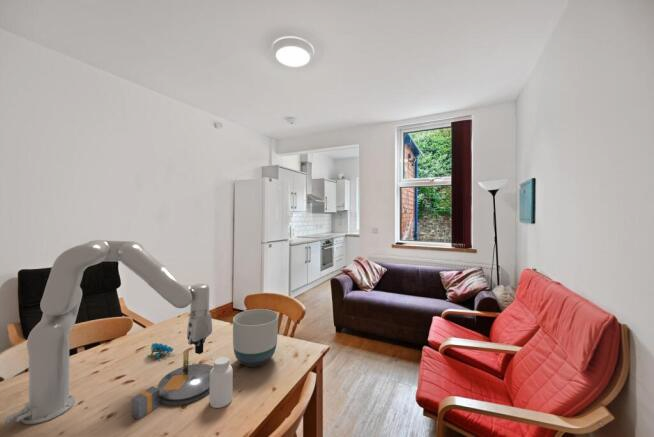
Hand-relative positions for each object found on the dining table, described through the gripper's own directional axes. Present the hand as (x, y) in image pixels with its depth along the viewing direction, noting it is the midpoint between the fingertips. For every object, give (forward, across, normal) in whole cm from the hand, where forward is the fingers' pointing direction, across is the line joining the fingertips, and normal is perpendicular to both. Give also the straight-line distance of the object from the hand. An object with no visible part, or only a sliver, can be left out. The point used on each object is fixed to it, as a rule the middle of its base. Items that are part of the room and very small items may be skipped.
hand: (199, 352), depth 117 cm
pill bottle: (+7, -12, -25) cm, 29 cm away
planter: (+7, +14, -20) cm, 25 cm away
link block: (+7, -26, -5) cm, 28 cm away
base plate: (+7, -11, -7) cm, 15 cm away
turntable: (+5, -11, -7) cm, 14 cm away
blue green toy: (+7, 0, +25) cm, 26 cm away
